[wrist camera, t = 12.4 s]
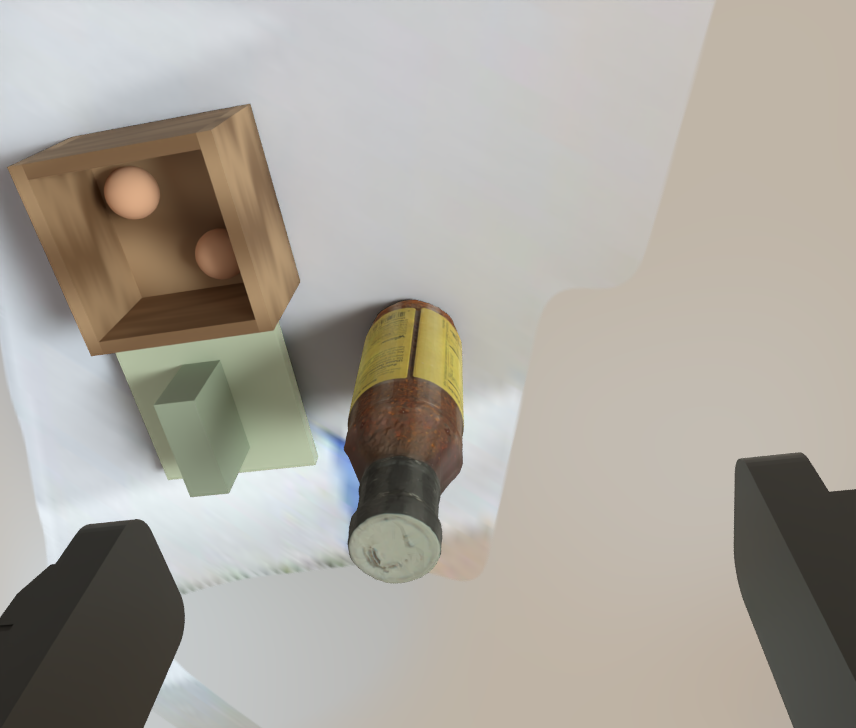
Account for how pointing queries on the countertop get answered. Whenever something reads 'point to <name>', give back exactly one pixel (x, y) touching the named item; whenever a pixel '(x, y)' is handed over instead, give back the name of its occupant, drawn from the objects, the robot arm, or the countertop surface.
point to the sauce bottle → (404, 439)
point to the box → (162, 231)
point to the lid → (221, 408)
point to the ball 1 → (132, 192)
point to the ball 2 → (216, 255)
